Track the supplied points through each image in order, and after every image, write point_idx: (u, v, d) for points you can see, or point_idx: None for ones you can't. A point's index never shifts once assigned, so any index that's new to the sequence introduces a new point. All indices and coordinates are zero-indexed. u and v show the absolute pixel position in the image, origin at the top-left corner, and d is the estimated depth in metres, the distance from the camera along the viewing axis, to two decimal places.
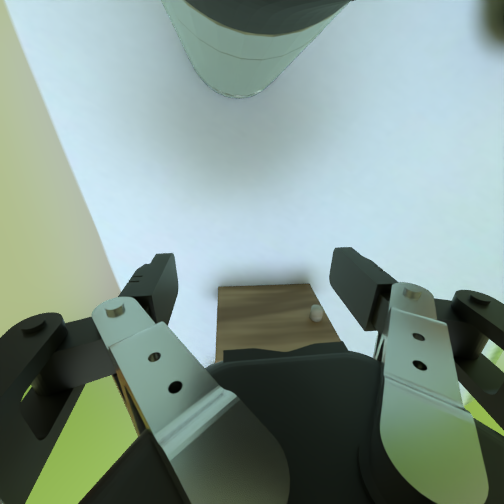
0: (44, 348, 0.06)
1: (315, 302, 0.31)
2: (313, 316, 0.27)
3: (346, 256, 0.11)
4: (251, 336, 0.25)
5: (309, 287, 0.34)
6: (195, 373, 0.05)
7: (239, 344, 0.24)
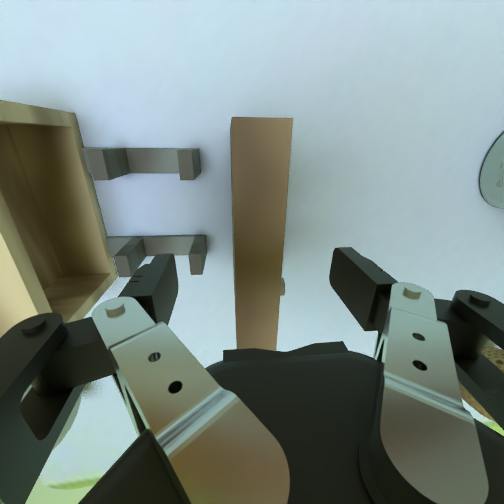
0: (44, 347, 0.06)
1: None
2: None
3: (346, 256, 0.11)
4: None
5: None
6: (196, 374, 0.05)
7: None
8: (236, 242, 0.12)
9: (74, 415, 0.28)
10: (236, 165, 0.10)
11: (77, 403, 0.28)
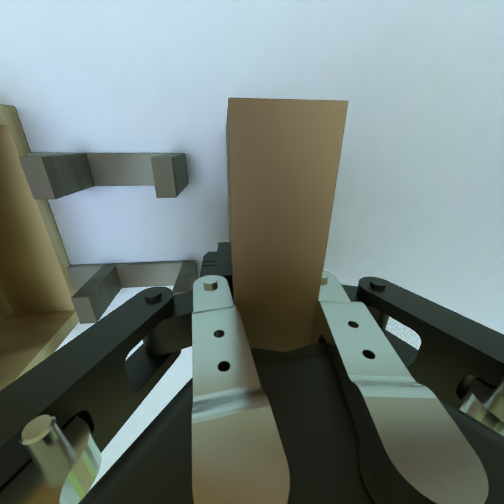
0: (152, 318, 0.07)
1: None
2: None
3: None
4: None
5: None
6: (244, 362, 0.05)
7: None
8: None
9: None
10: (237, 192, 0.06)
11: None
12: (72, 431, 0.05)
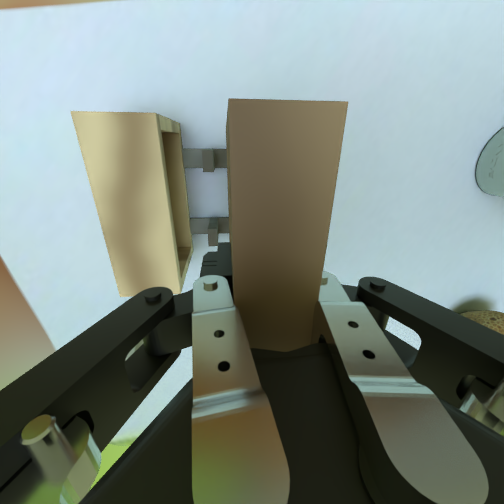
0: (152, 318, 0.07)
1: None
2: None
3: None
4: None
5: None
6: (244, 363, 0.05)
7: None
8: None
9: None
10: (237, 192, 0.06)
11: None
12: (72, 431, 0.05)
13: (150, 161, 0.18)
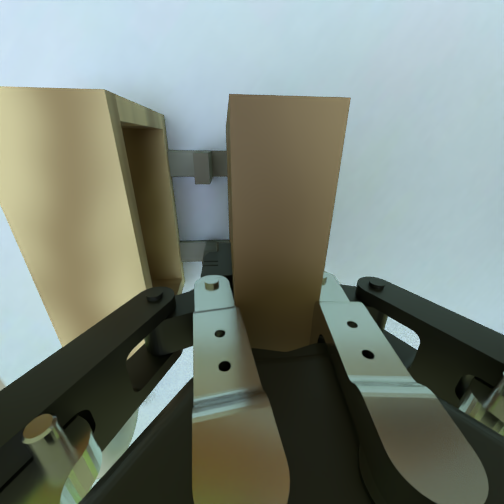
0: (154, 317, 0.07)
1: None
2: None
3: None
4: None
5: None
6: (245, 363, 0.05)
7: None
8: None
9: (135, 424, 0.27)
10: (238, 190, 0.05)
11: (137, 411, 0.28)
12: (73, 430, 0.05)
13: (102, 172, 0.11)
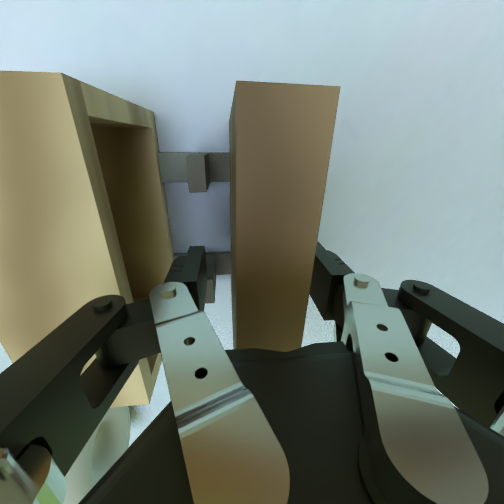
0: (106, 327, 0.06)
1: None
2: None
3: None
4: None
5: None
6: (222, 365, 0.05)
7: None
8: (239, 283, 0.08)
9: None
10: (242, 166, 0.06)
11: (128, 438, 0.25)
12: (28, 460, 0.04)
13: (65, 183, 0.08)
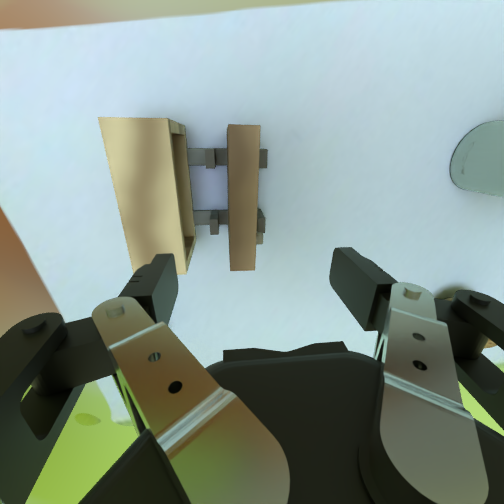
0: (44, 348, 0.06)
1: None
2: (256, 235, 0.28)
3: (346, 256, 0.11)
4: None
5: None
6: (196, 374, 0.05)
7: None
8: (230, 195, 0.21)
9: None
10: (230, 150, 0.19)
11: None
12: None
13: (162, 158, 0.21)
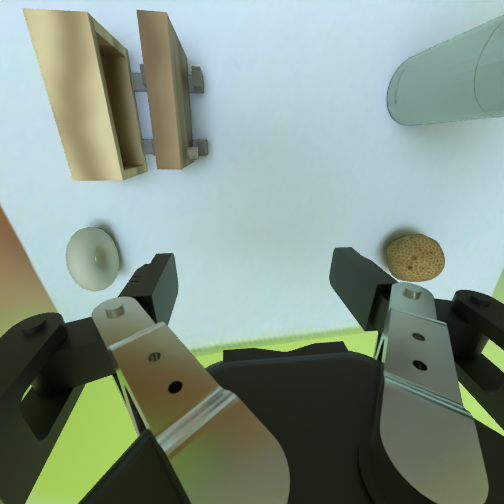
0: (44, 348, 0.06)
1: (189, 159, 0.33)
2: (190, 148, 0.30)
3: (346, 256, 0.11)
4: (176, 72, 0.25)
5: (192, 160, 0.36)
6: (196, 374, 0.05)
7: (173, 53, 0.23)
8: (147, 86, 0.23)
9: (115, 274, 0.39)
10: (141, 37, 0.21)
11: (117, 268, 0.40)
12: None
13: (87, 54, 0.23)
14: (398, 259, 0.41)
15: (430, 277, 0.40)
